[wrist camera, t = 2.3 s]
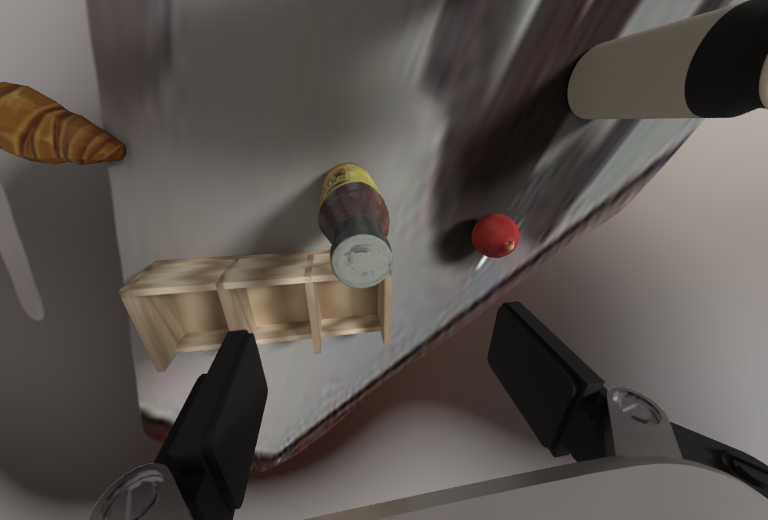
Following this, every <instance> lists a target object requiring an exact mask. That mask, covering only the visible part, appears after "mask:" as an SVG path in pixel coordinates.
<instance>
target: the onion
mask: <svg viewBox="0 0 768 520" xmlns="http://www.w3.org/2000/svg"><path fill="white" fill-rule="evenodd" d="M471 237H472V243H473V245H474V246H475V248H476V249H477V250H478V252H480V253H482V254H483V255H485V256H487V257H493V258H500V257H503V256H506V255H509V254H510V253H511V252H512V251H513V250H514V249H515V248H516V246H517V244H518V240H519V230H518V227H517V226H516V224H515V223H514V222H513V220H512V219H510V218H509V217H507V216H505V215H504V214H497V213H492V214H489V215H486V216H483V217H482V218H481V219H480V220H479V221H478V222H477V223H476V224H475V226H474V228H473V231H472V235H471Z"/></svg>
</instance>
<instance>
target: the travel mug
mask: <svg viewBox="0 0 768 520" xmlns="http://www.w3.org/2000/svg"><path fill="white" fill-rule="evenodd" d="M568 103H569V106H570V108H571V110H572V112H573V113H574V114H575V115H576V116H578V117H579V118H582V119H654V118H730V117H736V116H739V115H742V114H744V113H747V112H750V111H752V110H755V109H757V108H766V109H768V0H749V1H745V2H742V3H739V4H735V5H732V6H728V7H725V8H721V9H718V10H714V11H711V12H708V13H704V14H701V15H697V16H694V17H690V18H687V19H684V20H680V21H677V22H673V23H670V24H666V25H663V26H659V27H656V28H653V29H649V30H646V31H642V32H639V33H635V34H632V35H629V36H625V37H622V38H618V39H615V40H611V41H608V42H605V43H601V44H598V45H596V46H594V47H593V48H591V49H590V50H589V51H588V52H586V53H585V54H584V55H583V57H582V58H581V59H580V60H579V62H578V63H577V65H576V66H575V68H574V70H573V72H572V75H571V77H570V81H569V85H568Z"/></svg>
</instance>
